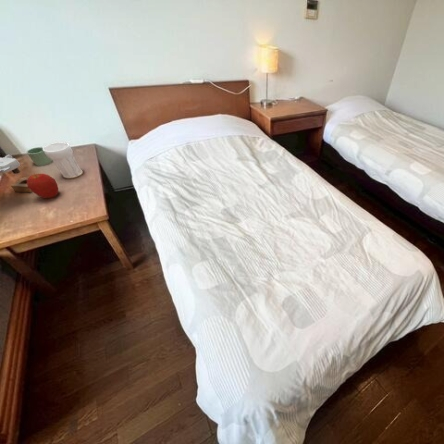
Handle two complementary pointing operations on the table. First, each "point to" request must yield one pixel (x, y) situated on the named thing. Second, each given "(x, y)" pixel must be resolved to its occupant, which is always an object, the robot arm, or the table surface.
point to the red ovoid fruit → (43, 185)
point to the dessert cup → (39, 156)
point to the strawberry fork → (1, 153)
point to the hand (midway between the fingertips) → (5, 155)
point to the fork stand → (21, 185)
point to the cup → (63, 159)
